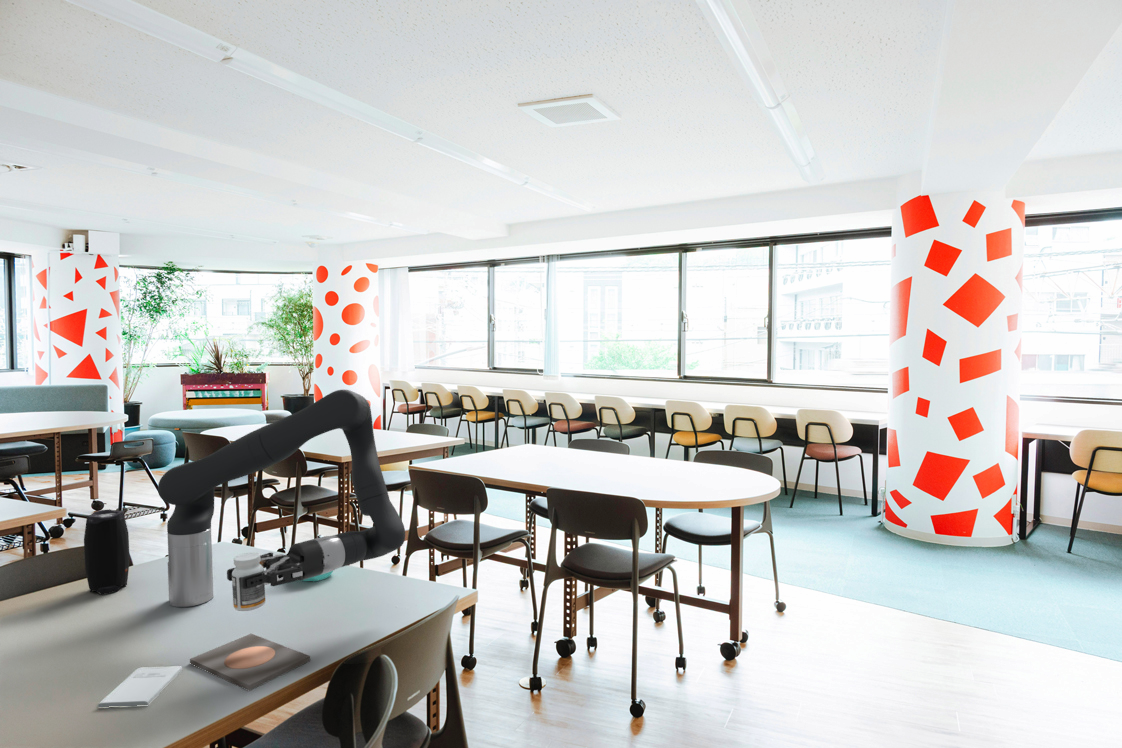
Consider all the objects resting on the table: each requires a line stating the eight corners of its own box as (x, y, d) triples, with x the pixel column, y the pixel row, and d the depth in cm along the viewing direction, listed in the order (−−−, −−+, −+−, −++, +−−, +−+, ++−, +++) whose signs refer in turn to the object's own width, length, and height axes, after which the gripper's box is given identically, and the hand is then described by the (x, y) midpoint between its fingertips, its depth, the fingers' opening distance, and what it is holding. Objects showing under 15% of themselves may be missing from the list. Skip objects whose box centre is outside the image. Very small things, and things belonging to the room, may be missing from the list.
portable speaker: (138, 584, 172) (135, 509, 171) (104, 598, 163) (100, 519, 162) (112, 580, 175) (109, 506, 173) (77, 594, 166) (74, 516, 164)
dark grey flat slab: (189, 663, 130) (189, 658, 130) (251, 638, 141) (251, 633, 141) (249, 690, 120) (249, 684, 120) (310, 660, 131) (310, 655, 131)
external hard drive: (98, 712, 115) (137, 675, 127) (148, 709, 115) (182, 673, 128) (97, 702, 115) (137, 666, 127) (147, 700, 115) (182, 665, 128)
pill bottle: (271, 600, 133) (269, 551, 132) (255, 612, 127) (253, 561, 126) (243, 599, 133) (241, 551, 133) (226, 611, 128) (224, 561, 127)
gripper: (299, 532, 145) (218, 552, 132) (334, 546, 136) (250, 569, 123) (300, 566, 146) (220, 589, 133) (335, 582, 136) (252, 608, 123)
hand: (235, 579), depth 128 cm, fingers closed on pill bottle, 5 cm apart
